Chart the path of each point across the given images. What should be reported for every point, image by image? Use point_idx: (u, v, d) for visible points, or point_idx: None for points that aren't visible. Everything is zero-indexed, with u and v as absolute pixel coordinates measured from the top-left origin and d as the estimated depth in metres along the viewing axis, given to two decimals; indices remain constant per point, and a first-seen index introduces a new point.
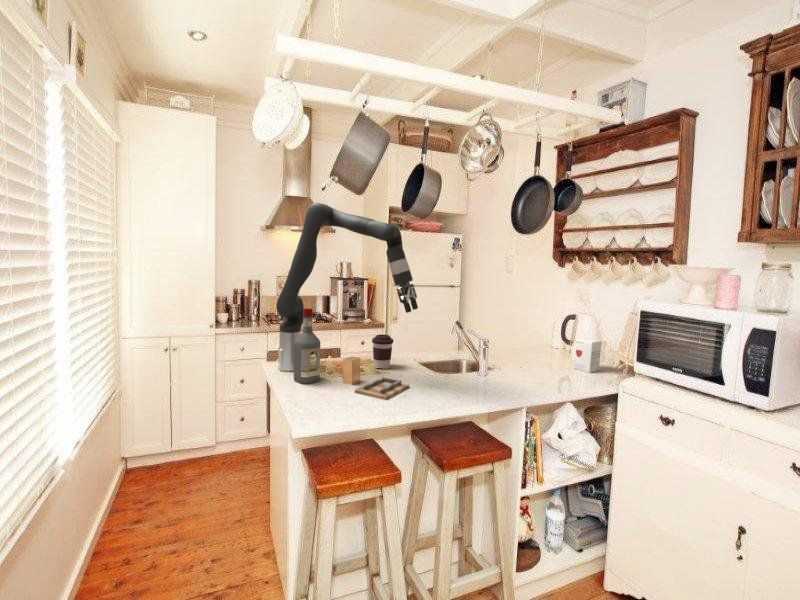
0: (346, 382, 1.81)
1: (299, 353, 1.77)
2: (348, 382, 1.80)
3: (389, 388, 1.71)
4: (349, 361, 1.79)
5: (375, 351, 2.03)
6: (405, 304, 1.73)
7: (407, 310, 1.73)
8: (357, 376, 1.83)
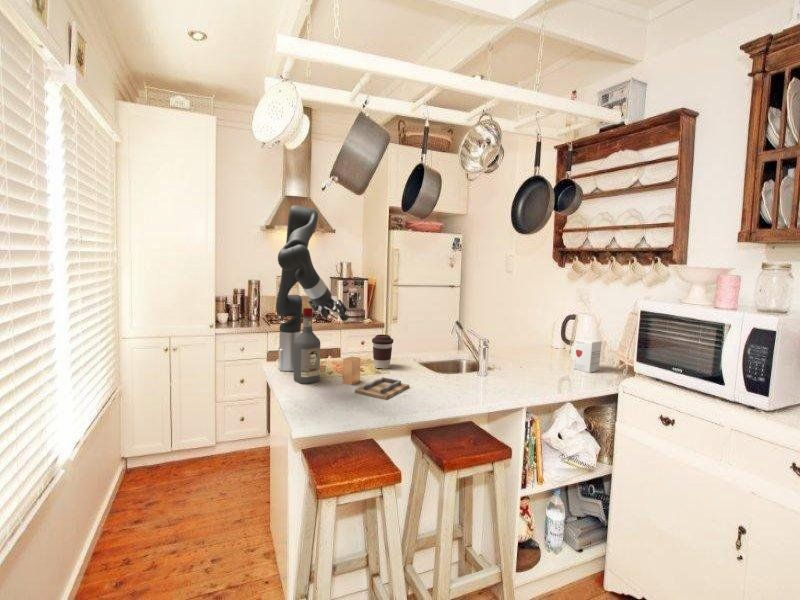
0: (346, 382, 1.81)
1: (299, 353, 1.77)
2: (348, 382, 1.80)
3: (389, 388, 1.71)
4: (349, 361, 1.79)
5: (375, 351, 2.03)
6: None
7: None
8: (357, 376, 1.83)
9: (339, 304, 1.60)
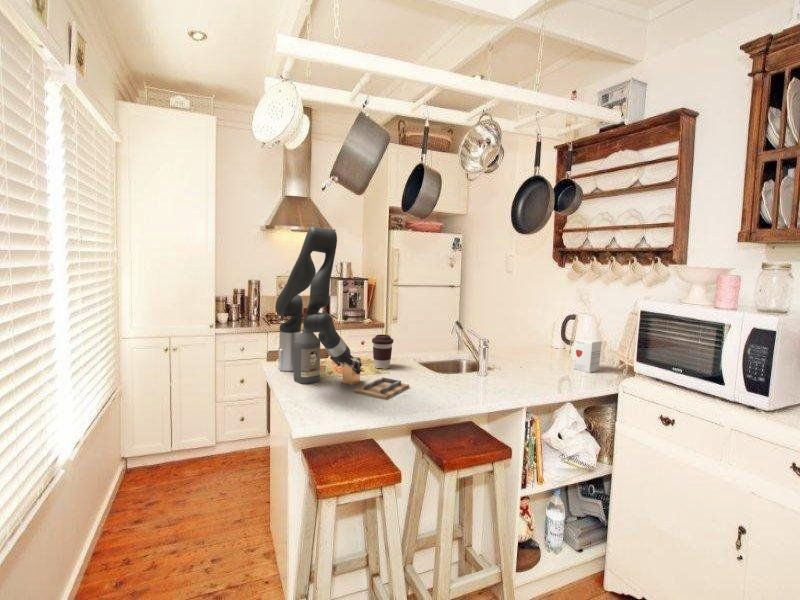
0: (346, 382, 1.81)
1: (299, 353, 1.77)
2: (348, 382, 1.80)
3: (389, 388, 1.71)
4: None
5: (375, 351, 2.03)
6: None
7: None
8: (357, 376, 1.83)
9: (358, 362, 1.75)
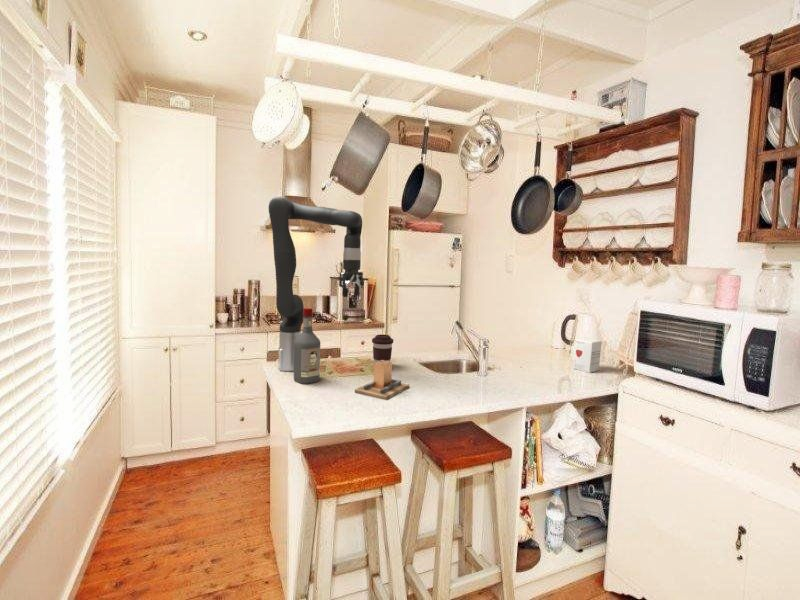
0: (377, 387, 1.72)
1: (299, 353, 1.77)
2: (380, 387, 1.71)
3: (389, 388, 1.71)
4: (381, 365, 1.70)
5: (375, 351, 2.03)
6: (343, 289, 1.88)
7: (343, 295, 1.88)
8: (388, 381, 1.74)
9: None
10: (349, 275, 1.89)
